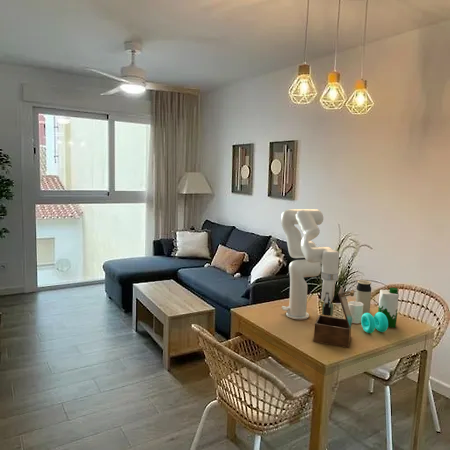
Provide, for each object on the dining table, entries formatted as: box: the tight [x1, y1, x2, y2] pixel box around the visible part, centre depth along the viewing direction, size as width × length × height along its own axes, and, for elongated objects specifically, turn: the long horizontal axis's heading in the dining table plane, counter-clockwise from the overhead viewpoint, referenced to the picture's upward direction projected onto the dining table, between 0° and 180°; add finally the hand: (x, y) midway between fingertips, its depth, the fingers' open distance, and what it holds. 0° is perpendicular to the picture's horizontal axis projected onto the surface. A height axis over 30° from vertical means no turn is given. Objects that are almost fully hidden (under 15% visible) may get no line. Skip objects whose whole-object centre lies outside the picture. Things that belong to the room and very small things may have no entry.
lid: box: [337, 286, 356, 328], centre depth 181 cm, size 16×13×6 cm
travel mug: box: [355, 279, 372, 315], centre depth 223 cm, size 8×8×18 cm
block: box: [321, 303, 334, 317], centre depth 185 cm, size 4×4×4 cm
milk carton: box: [377, 287, 400, 329], centre depth 204 cm, size 9×9×20 cm
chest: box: [313, 314, 353, 348], centre depth 185 cm, size 16×13×9 cm
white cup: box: [347, 300, 364, 325], centre depth 209 cm, size 8×8×10 cm
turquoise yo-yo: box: [360, 311, 389, 334], centre depth 195 cm, size 10×10×10 cm
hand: (327, 313), depth 185 cm, fingers closed on block, 4 cm apart
